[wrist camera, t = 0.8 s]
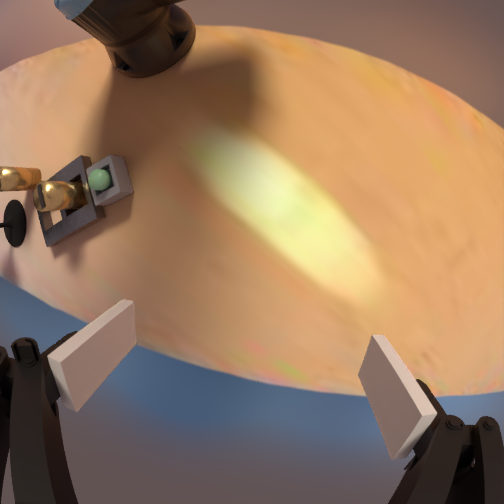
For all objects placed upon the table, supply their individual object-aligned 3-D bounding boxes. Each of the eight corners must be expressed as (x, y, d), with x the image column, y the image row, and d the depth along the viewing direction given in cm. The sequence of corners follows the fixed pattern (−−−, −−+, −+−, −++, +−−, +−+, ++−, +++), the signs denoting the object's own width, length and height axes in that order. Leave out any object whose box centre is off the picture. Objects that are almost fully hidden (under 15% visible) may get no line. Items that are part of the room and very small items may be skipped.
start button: (94, 175, 34) (86, 174, 32) (109, 166, 34) (101, 165, 32) (98, 193, 35) (91, 193, 33) (113, 185, 34) (106, 184, 32)
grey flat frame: (42, 191, 39) (33, 192, 37) (89, 157, 37) (81, 155, 35) (55, 245, 41) (46, 247, 38) (105, 217, 39) (96, 218, 36)
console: (100, 171, 38) (86, 169, 34) (124, 157, 37) (110, 154, 33) (109, 204, 38) (95, 205, 35) (133, 192, 38) (120, 191, 34)
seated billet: (70, 189, 39) (30, 189, 28) (87, 178, 38) (46, 175, 28) (76, 212, 39) (35, 216, 29) (93, 201, 39) (52, 204, 29)
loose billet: (28, 174, 39) (-8, 174, 29) (39, 164, 38) (2, 161, 28) (31, 194, 39) (-6, 195, 29) (42, 184, 39) (4, 184, 29)
